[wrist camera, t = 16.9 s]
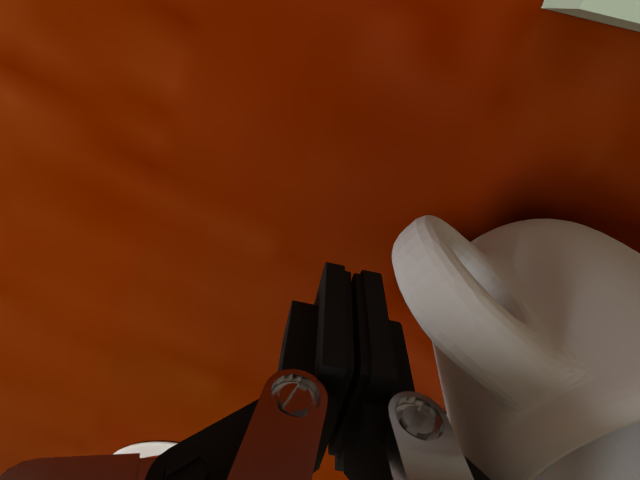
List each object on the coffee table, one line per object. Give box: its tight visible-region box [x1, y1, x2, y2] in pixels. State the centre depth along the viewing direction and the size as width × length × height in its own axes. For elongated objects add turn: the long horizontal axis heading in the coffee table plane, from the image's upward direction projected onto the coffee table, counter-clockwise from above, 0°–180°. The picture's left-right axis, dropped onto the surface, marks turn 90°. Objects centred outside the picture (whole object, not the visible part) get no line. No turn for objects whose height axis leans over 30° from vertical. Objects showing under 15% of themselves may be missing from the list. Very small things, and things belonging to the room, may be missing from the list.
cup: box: [392, 215, 640, 480], centre depth 11 cm, size 11×8×8 cm
